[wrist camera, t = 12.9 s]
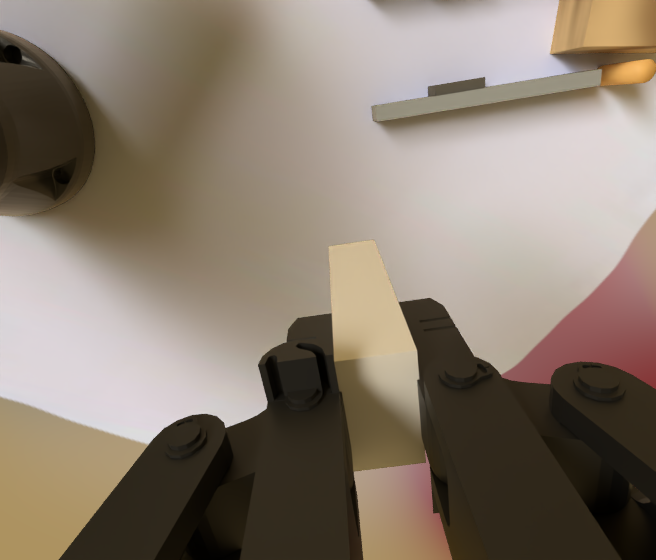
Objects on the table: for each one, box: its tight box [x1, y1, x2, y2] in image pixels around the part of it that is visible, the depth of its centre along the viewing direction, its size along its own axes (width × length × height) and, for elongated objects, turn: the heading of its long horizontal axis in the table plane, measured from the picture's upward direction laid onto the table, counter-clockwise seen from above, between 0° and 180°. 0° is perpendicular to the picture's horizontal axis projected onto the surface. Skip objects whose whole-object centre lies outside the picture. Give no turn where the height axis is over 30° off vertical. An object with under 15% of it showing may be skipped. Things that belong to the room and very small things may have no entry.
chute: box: [371, 59, 656, 122], centre depth 32 cm, size 21×11×5 cm, turn 99°
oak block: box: [550, 0, 656, 54], centre depth 31 cm, size 9×6×5 cm, turn 91°
